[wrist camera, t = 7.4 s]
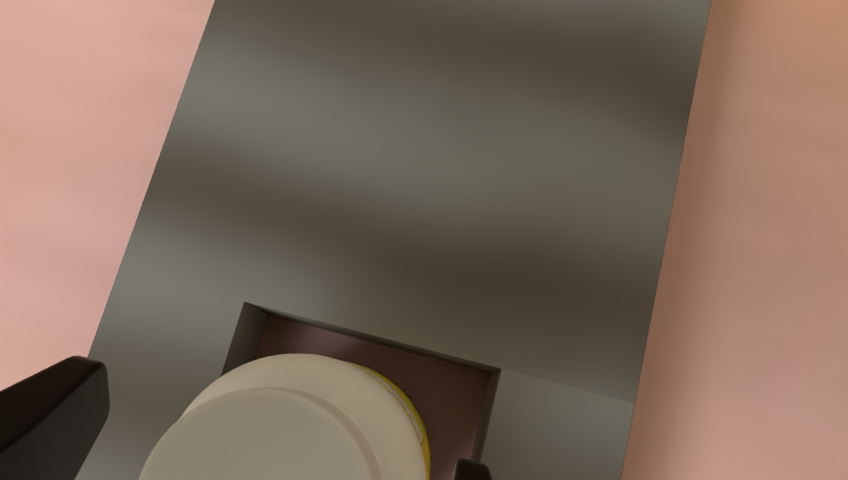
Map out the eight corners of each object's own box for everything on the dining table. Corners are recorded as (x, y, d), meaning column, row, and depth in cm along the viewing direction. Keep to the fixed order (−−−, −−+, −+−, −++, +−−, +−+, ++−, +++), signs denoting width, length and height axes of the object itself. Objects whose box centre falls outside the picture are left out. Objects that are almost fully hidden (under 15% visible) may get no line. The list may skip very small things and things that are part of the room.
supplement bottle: (336, 598, 20) (230, 791, 10) (211, 454, 21) (9, 510, 11) (472, 458, 21) (490, 520, 11) (345, 325, 22) (260, 275, 12)
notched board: (555, 654, 20) (578, 698, 17) (79, 519, 20) (22, 539, 18) (701, -83, 25) (738, -147, 22) (315, -168, 26) (301, -242, 23)
